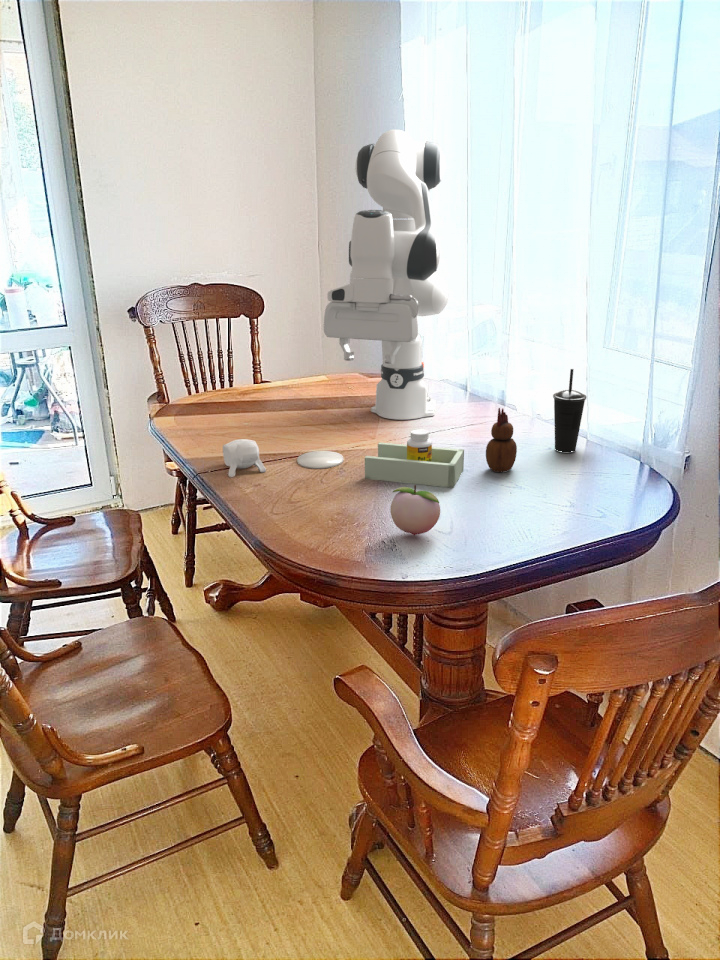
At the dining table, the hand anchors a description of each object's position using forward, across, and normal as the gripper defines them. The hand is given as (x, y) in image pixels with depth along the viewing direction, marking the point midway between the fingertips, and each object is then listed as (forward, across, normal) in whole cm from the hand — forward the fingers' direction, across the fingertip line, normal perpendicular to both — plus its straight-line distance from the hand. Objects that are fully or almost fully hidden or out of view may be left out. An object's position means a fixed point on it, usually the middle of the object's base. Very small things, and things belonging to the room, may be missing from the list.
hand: (369, 362), depth 153 cm
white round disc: (+25, +17, -10) cm, 32 cm away
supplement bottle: (+26, -9, -10) cm, 29 cm away
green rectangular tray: (+26, -8, -10) cm, 28 cm away
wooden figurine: (+25, -24, -20) cm, 40 cm away
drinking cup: (+22, -35, -39) cm, 57 cm away
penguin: (+27, +29, +3) cm, 40 cm away
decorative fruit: (+29, -19, +20) cm, 40 cm away
